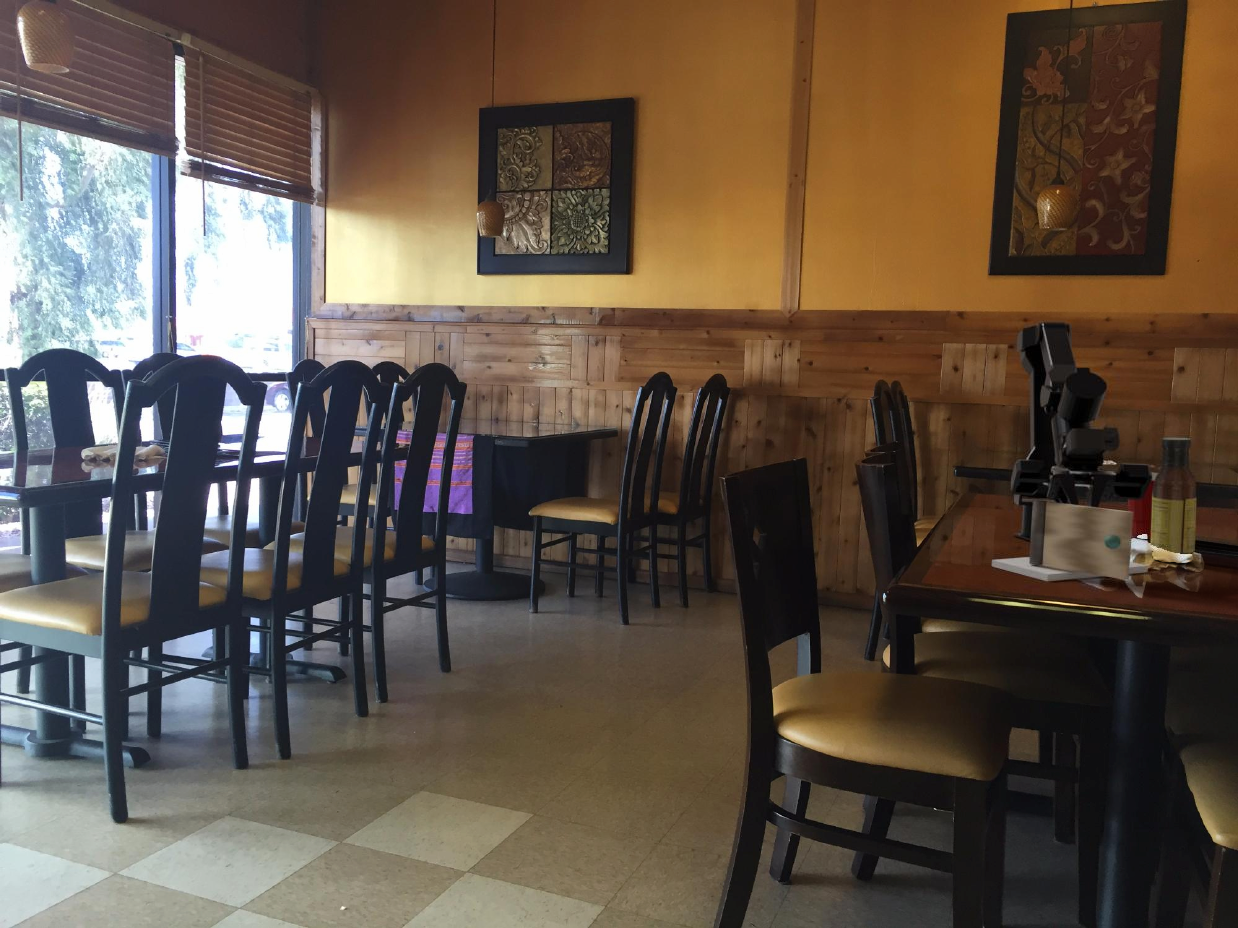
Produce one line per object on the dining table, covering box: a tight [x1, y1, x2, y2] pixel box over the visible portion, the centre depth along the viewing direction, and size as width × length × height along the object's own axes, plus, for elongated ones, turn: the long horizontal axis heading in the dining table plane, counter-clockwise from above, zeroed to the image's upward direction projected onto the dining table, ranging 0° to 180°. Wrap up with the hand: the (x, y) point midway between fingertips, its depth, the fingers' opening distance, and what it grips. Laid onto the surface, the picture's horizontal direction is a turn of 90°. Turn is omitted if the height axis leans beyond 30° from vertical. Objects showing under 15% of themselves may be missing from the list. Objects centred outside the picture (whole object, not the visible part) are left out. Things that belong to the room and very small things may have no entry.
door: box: [1029, 499, 1133, 580], centre depth 142 cm, size 14×4×10 cm, turn 40°
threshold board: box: [991, 556, 1149, 582], centre depth 150 cm, size 20×11×1 cm, turn 112°
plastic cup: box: [1127, 471, 1158, 541], centre depth 179 cm, size 11×11×12 cm
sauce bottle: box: [1150, 437, 1197, 555], centre depth 157 cm, size 7×6×20 cm
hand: (1085, 524), depth 143 cm, fingers closed
